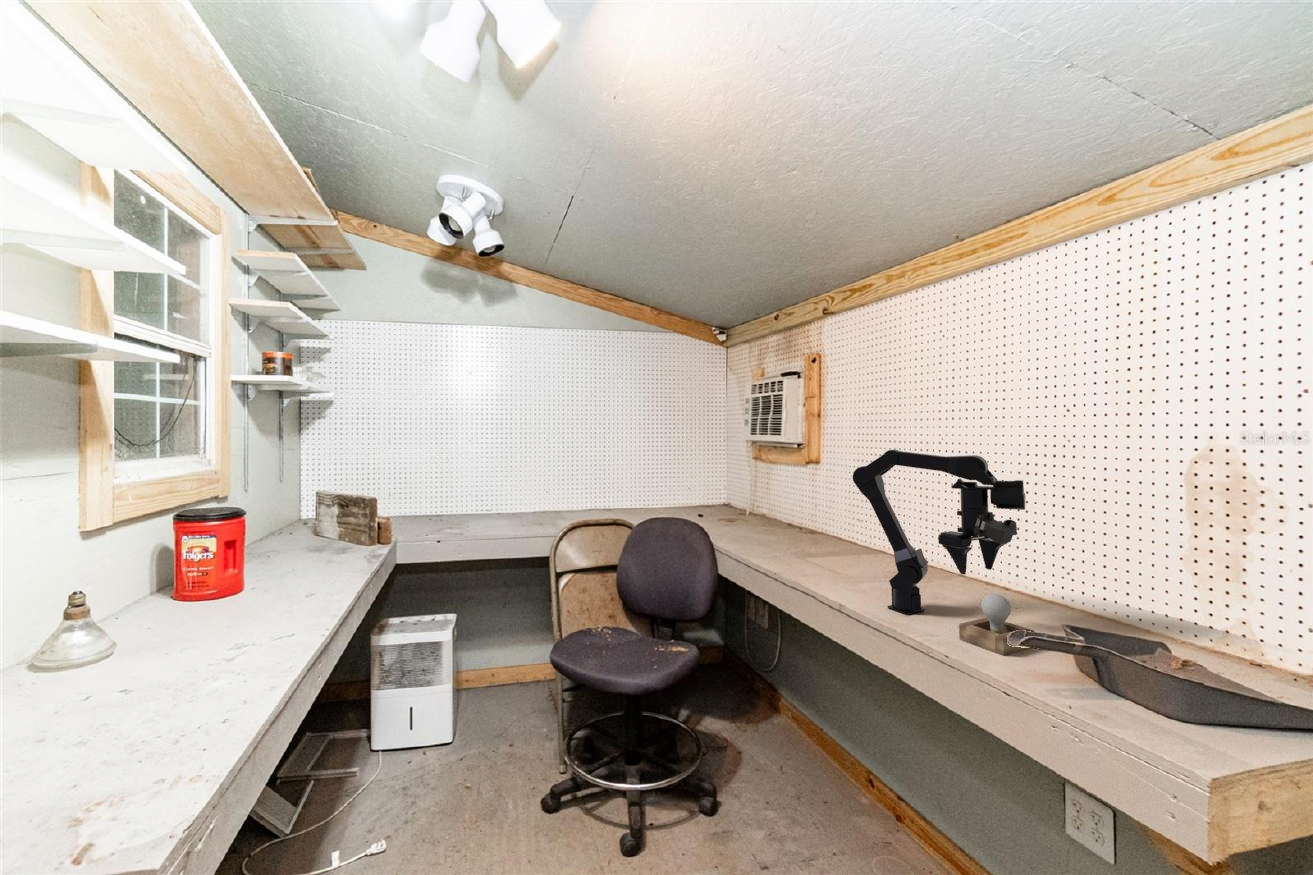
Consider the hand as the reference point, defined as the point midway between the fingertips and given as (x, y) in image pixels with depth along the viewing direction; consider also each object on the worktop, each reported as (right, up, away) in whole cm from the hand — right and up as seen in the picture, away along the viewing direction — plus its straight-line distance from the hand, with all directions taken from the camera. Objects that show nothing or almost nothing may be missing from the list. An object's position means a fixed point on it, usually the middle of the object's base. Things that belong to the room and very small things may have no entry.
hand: (976, 571), depth 132 cm
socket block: (-4, -12, -14) cm, 19 cm away
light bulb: (-3, -12, -13) cm, 18 cm away
